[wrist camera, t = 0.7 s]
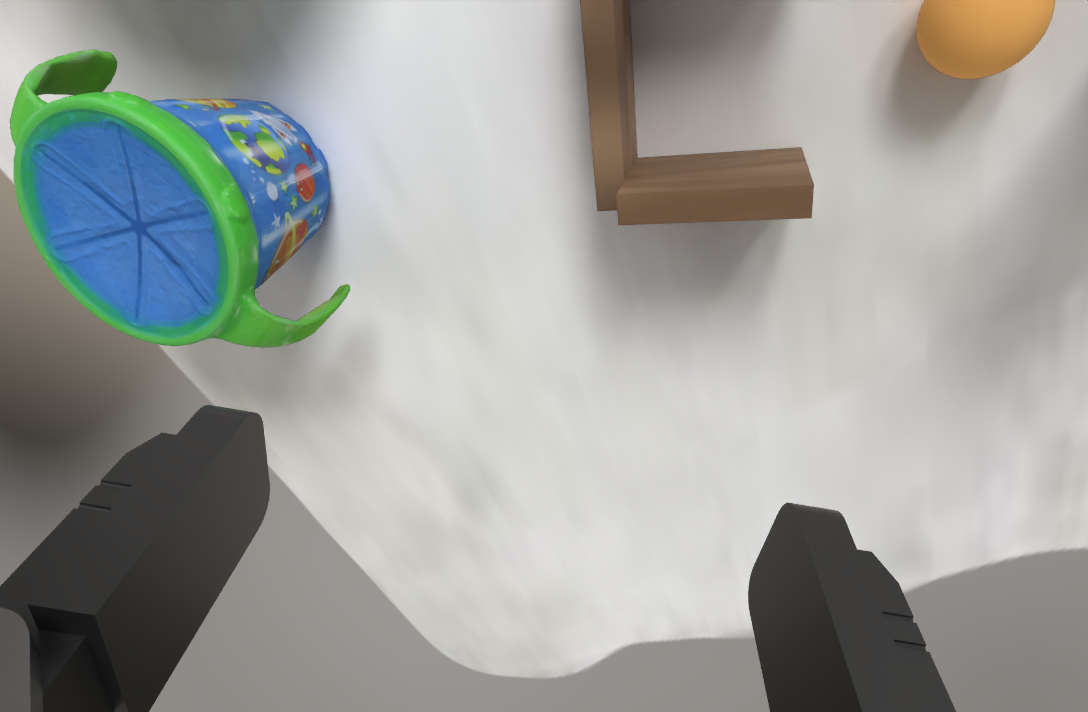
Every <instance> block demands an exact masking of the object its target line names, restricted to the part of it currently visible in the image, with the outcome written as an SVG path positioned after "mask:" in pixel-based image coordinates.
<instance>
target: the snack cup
mask: <svg viewBox="0 0 1088 712" xmlns="http://www.w3.org/2000/svg"><path fill="white" fill-rule="evenodd" d="M116 69H117V61H116V58H115V57H114V55H112V54H111V53H110V52H101V51H98V50H88V51H79V52H75V53H70V54H67V55H63V56H59V57H56V58H54V59H51V60H49V61H46V62H44V63H42V64H39V65H37V66H36V67H35V68H34V69H33V70H31V71H30V72H29V73H28V74H27V75H26V77H25V79H24V81H23V82H22V84H21V86H20V88H19V90H18V93H17V96H16V98H15V102H14V105H13V110H12V114H11V118H10V129H11V136H12V139H13V142H14V144H15V147H16V150H15V156H14V184H15V191H16V196H17V201H18V204H19V208H20V211H21V215H22V217H23V220H24V222H25V225H26V227H27V229H28V231H29V233H30V235H31V237H32V239H33V241H34V243H35V245H36V247H37V249H38V251H39V252H40V254H41V255H42V257H43V259H44V260H45V262H46V263H47V265H48V267H49V268H50V269H51V270H52V272H53V273H54V275H55V276H56V278H58V280H59V281H60V282H61V283H62V284H63V286H64V287H65V288H66V289H67V290H68V291H69V292H70V293H71V294H72V295H73V296H74V297H75V298H76V299H77V300H78V301H79V302H80V303H81V304H82V305H83V306H85V307H86V308H87V309H88V310H89V311H90V312H92V313H93V314H94V315H96V316H97V317H98V318H99V319H101V320H103V321H104V322H106V323H107V324H109V325H111V326H112V327H114V328H116V329H117V330H119V331H121V332H123V333H126V334H128V335H130V336H132V337H135V338H138V339H141V340H144V341H147V342H151V343H155V344H160V345H169V346H180V345H188V344H192V343H196V342H199V341H202V340H204V339H208V338H218V339H223V340H225V341H228V342H232V343H236V344H240V345H245V346H252V347H261V348H262V347H277V346H283V345H288V344H292V343H295V342H298V341H301V340H303V339H304V338H306V337H308V336H310V335H311V334H313V333H314V332H315V331H316V330H317V329H318V328H319V327H320V326H321V325H322V324H323V323H324V322H325V321H326V320H327V319H328V318H329V317H330V315H331V314H332V313H333V312H334V311H336V309H337V308H338V307H339V306H340V305H341V303H342V302H343V301H344V299H345V298H346V297H347V295H348V293H349V291H350V286H349V285H348V284H346V285H343V286H341V287H339V288H338V290H337V291H336V292H335V293H334V295H333V296H332V297H331V298H330V300H328V301H327V302H325V303H323V304H322V305H320V306H319V307H317V308H316V309H314V310H312V311H311V312H309V313H308V314H306V315H305V316H303V317H302V318H300V319H299V320H297V321H293V320H289V319H285V318H282V317H279V316H276V315H272V314H271V313H269V312H267V311H265V310H264V309H263V308H261V307H260V305H259V304H258V302H257V300H256V298H255V289H256V288H257V287H259V286H260V285H262V284H263V283H264V282H265V281H266V280H267V279H268V278H269V277H270V276H271V275H272V274H273V273H275V272H276V271H277V270H278V269H279V268H280V267H281V266H282V265H283V264H284V263H285V262H286V261H287V260H288V259H289V258H290V257H291V256H292V255H293V254H294V253H295V252H296V251H297V250H298V249H299V248H300V247H301V246H302V245H303V244H304V243H305V242H306V241H307V240H308V239H309V238H310V237H311V236H312V235H313V234H314V233H315V232H316V231H317V230H318V229H319V228H320V226H321V224H322V223H323V221H324V219H325V218H324V216H325V214H326V211H327V207H328V202H329V197H330V187H329V186H330V183H329V180H328V176H327V162H326V160H325V157H324V155H323V153H322V151H321V150H319V149H318V148H317V147H316V146H315V144H314V143H313V141H312V139H311V137H310V135H309V134H308V133H307V131H306V130H305V129H304V128H303V127H302V126H301V125H299V124H298V123H297V122H295V121H294V120H293V119H292V118H290V117H289V116H288V115H286V114H284V113H282V112H281V111H279V110H278V109H277V108H275V107H274V106H272V105H270V104H269V103H267V102H255V101H249V100H244V99H166V100H162V101H152V102H149V101H147V100H145V99H142V98H140V97H138V96H135V95H131V94H128V93H123V92H118V91H115V92H112V93H104V92H102V91H104V90H105V88H106V87H107V86H108V85H109V84H110V82H111V80H112V78H113V76H114V74H115V72H116ZM42 94H67V95H74V96H69V97H65V98H62V99H59V100H56V101H53V102H50V103H46V102H45V101H43V100H41V99H40V98H39V97H38V95H42Z"/></svg>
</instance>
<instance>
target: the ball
mask: <svg viewBox="0 0 1088 712" xmlns="http://www.w3.org/2000/svg"><path fill="white" fill-rule="evenodd" d="M1054 5H1055V0H924V2H923V4H922V6H921V9H920V13H919V16H918V21H917V39H918V44H919V47H920V50H921V52H922V54H923V56H924V57H925V59H926V60H927V61H928V63H929V64H930V65H931V66H933V67H934V68H935V69H936V70H938V71H939V72H941V73H943V74H945V75H948V76H951V77H955V78H961V79H977V78H983V77H987V76H991V75H994V74H997V73H999V72H1002V71H1004V70H1006V69H1008V68H1010V67H1011V66H1013V65H1015V64H1016V63H1018V62H1019V61H1020V60H1021V59H1023V58H1024V57H1025V56H1026V55H1027V54H1028V53H1029V52H1030V51H1032V50H1033V48H1034V47H1035V46H1036V45H1037V44H1038V43H1039V41H1040V40H1041V38H1042V37H1043V35H1044V34H1045V32H1046V30H1047V28H1048V26H1049V24H1050V21H1051V18H1052V15H1053V11H1054Z"/></svg>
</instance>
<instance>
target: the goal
mask: <svg viewBox="0 0 1088 712" xmlns="http://www.w3.org/2000/svg"><path fill="white" fill-rule="evenodd" d="M580 4H581V16H582V28H583V41H584V53H585V65H586V77H587V89H588V101H589V113H590V126H591V138H592V150H593V162H594V174H595V186H596V198H597V211H610V210H617V211H618V225H635V224H663V223H690V222H718V221H745V220H772V219H800V218H811V217H812V203H813V189H814V184H813V181H812V178H811V175H810V172H809V169H808V166H807V163H806V160H805V157H804V154H803V151H802V148H785V149H769V150H754V151H738V152H723V153H707V154H691V155H676V156H660V157H644V158H637V140H636V121H635V102H634V83H633V63H632V44H631V25H630V5H629V0H580Z"/></svg>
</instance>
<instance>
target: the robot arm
mask: <svg viewBox="0 0 1088 712" xmlns="http://www.w3.org/2000/svg"><path fill="white" fill-rule="evenodd" d="M269 494H270V483H269V474H268V465H267V455H266V446H265V437H264V428H263V421H262V418H261V417H260V415H259V414H258V413H254V412H248V411H242V410H236V409H230V408H224V407H218V406H212V405H206V406H203V407H202V408H200V409H199V410H198V411H197V412H196V413H195V414H194V416H193V417H192V418H191V419H190V420H189V421H188V422H187V423H186V425H185V426H184V427H183V428H182V429H181V430H180V431H179V432H178V434H177V435H173V434H167V433H161V434H159V435H157V436H155V437H154V438H152V439H150V440H148V441H147V442H145V443H143V444H142V445H140V446H138V447H136V448H135V449H133V450H131V451H129V452H128V453H126V454H125V455H124V456H123V457H122V458H121V460H119V462H118V463H117V464H116V465H115V466H114V467H113V468H112V469H111V470H110V471H109V472H108V473H107V474H106V475H105V476H104V477H103V478H102V480H101V484H100V485H99V486H95V487H94V488H93V489H92V490H91V491H90V492H89V493H88V494H87V495H86V496H85V498H84V499H83V500H82V501H81V502H80V505H79V508H78V509H75V508H74V509H73V510H72V511H71V512H70V513H69V515H67V516H66V518H65V519H64V520H63V521H62V522H61V523H60V524H59V525H58V526H57V527H56V528H55V529H54V530H53V531H52V532H51V533H50V534H49V536H47V538H46V539H45V540H44V541H43V542H42V543H41V544H40V545H39V546H38V547H37V548H36V549H35V550H34V551H33V552H32V554H30V556H29V557H28V558H27V559H26V560H25V561H24V562H23V563H22V564H21V565H20V566H19V567H18V568H17V569H16V570H15V572H14V573H12V574H11V576H10V577H9V578H8V579H7V580H6V581H5V582H4V583H3V584H2V585H1V586H0V712H149V711H150V709H151V707H152V706H153V704H154V702H155V701H156V699H157V697H158V695H159V694H160V692H161V691H162V689H163V687H164V686H165V684H166V682H167V681H168V679H169V677H170V676H171V674H172V672H173V671H174V669H175V667H176V665H177V664H178V662H179V661H180V659H181V657H182V656H183V654H184V652H185V651H186V649H187V647H188V646H189V644H190V642H191V640H192V639H193V637H194V636H195V634H196V632H197V631H198V629H199V627H200V626H201V624H202V622H203V621H204V619H205V617H206V615H207V614H208V612H209V611H210V609H211V607H212V606H213V604H214V602H215V601H216V599H217V597H218V596H219V594H220V592H221V591H222V589H223V587H224V586H225V584H226V582H227V580H228V579H229V577H230V576H231V574H232V572H233V571H234V569H235V567H236V566H237V564H238V562H239V561H240V559H241V557H242V556H243V554H244V552H245V551H246V549H247V547H248V546H249V544H250V542H251V541H252V539H253V537H254V536H255V534H256V532H257V531H258V529H259V527H260V525H261V523H262V521H263V519H264V516H265V513H266V510H267V506H268V501H269ZM748 602H749V611H750V616H751V621H752V626H753V630H754V635H755V640H756V645H757V650H758V654H759V660H760V664H761V669H762V674H763V678H764V684H765V689H766V693H767V698H768V703H769V708H770V712H956V711H955V709H954V707H953V704H952V702H951V699H950V697H949V695H948V693H947V690H946V688H945V686H944V684H943V682H942V679H941V677H940V675H939V673H938V670H937V668H936V666H935V664H934V662H933V659H932V657H931V655H930V652H926V650H925V646H926V644H925V641H924V639H923V637H922V635H921V633H920V630H919V628H918V626H917V624H916V623H913V615H912V612H911V610H910V608H909V606H908V603H907V601H906V599H905V597H904V594H903V592H902V590H901V588H900V585H899V583H898V582H897V581H896V580H895V578H894V577H893V576H892V575H891V574H890V573H889V572H888V570H887V569H886V568H885V567H884V566H883V565H882V563H881V562H880V561H879V560H878V559H877V558H876V556H875V555H874V554H873V553H872V552H869V551H863V550H857V548H856V546H855V543H854V541H853V538H852V536H851V534H850V531H849V529H848V526H847V524H846V521H845V519H844V517H843V516H842V514H841V513H840V512H838V511H835V510H829V509H823V508H817V507H811V506H805V505H799V504H793V503H786V504H784V505H783V506H782V507H781V509H780V511H779V512H778V515H777V517H776V519H775V521H774V523H773V525H772V528H771V530H770V532H769V534H768V536H767V538H766V541H765V543H764V545H763V547H762V549H761V551H760V554H759V556H758V558H757V560H756V562H755V564H754V567H753V569H752V572H751V576H750V582H749V590H748Z"/></svg>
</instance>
